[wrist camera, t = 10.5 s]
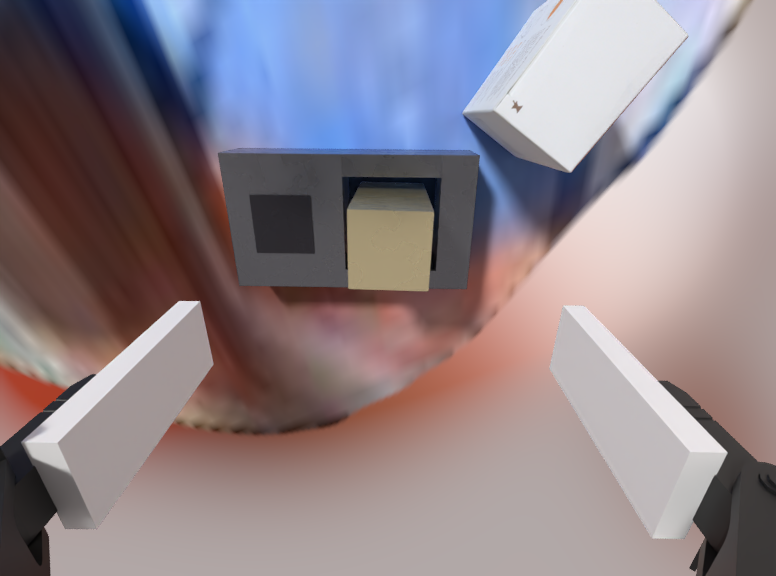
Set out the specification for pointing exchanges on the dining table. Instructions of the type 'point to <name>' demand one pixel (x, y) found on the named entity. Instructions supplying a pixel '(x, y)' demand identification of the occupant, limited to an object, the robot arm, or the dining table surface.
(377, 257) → the beige square peg
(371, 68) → the dining table surface
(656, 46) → the small box
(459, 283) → the grey square hole block
